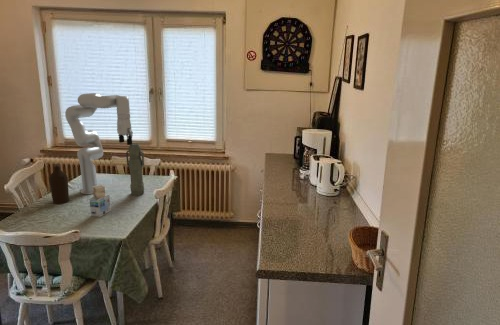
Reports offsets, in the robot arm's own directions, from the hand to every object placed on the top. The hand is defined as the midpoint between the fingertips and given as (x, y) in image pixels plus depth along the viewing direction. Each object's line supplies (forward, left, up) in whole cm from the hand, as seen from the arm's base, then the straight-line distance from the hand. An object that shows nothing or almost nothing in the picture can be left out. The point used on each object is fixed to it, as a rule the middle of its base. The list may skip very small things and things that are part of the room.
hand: (125, 143), depth 233 cm
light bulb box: (+7, -23, -39) cm, 45 cm away
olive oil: (-30, -32, -38) cm, 58 cm away
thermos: (-9, +11, -38) cm, 41 cm away
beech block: (+7, -23, -28) cm, 37 cm away
